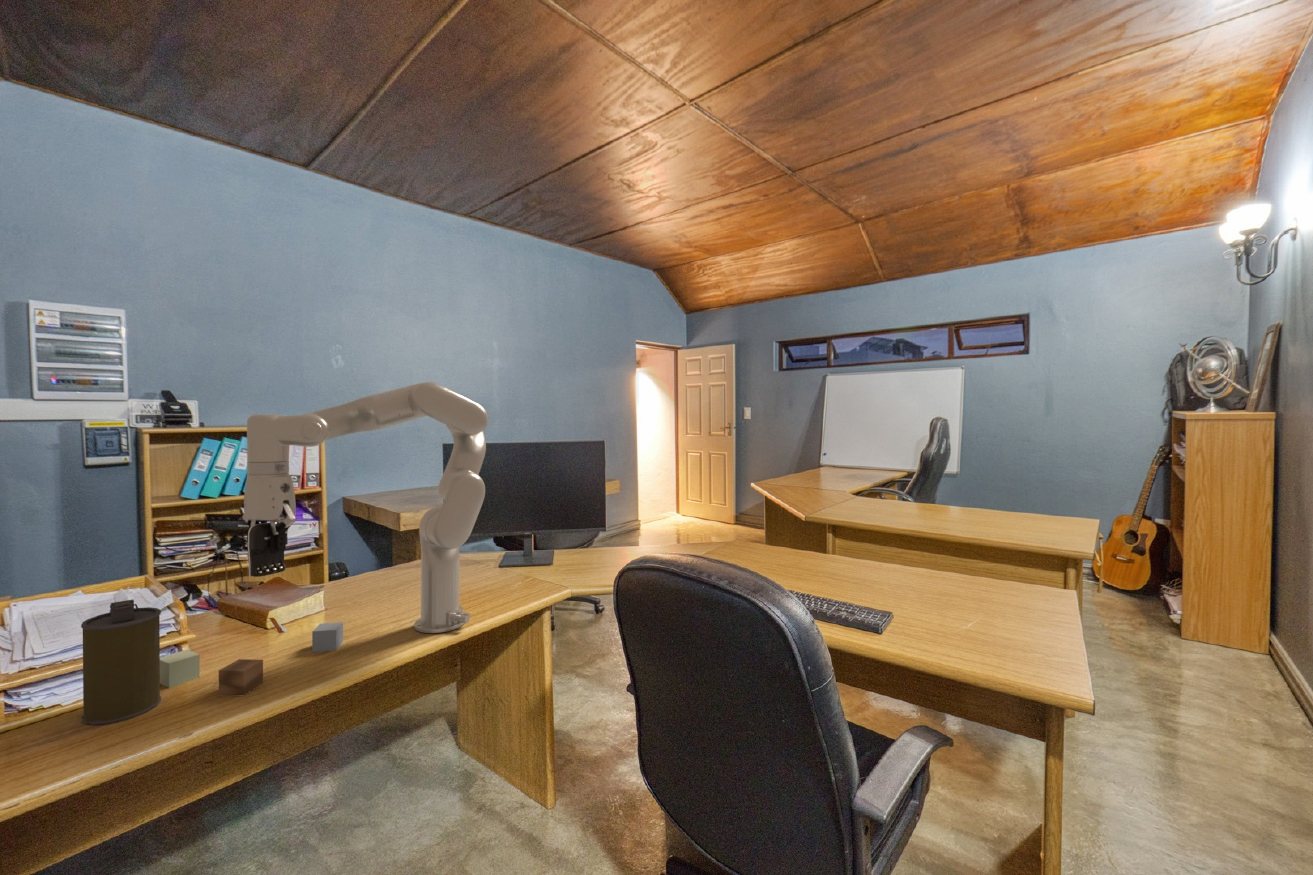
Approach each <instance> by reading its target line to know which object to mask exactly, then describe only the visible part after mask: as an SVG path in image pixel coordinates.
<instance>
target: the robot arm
mask: <svg viewBox="0 0 1313 875" xmlns="http://www.w3.org/2000/svg"><path fill="white" fill-rule="evenodd" d="M427 416H428V417H429V418H431V419H433V420H435V421H438V422H439V423H442V424H444V425H445V426H446V428H447V429H448V430H449V432H450V433H451V435H452V438H453V447H452V450H451V454H450V458H449V460H448V461H447V464H446V466H445V469H444V471H443V474H442V477H441V478H440V481H439V483H438V490H437V491H438V494H439V496H440V498H441V499H442V500H443V502H442V505H441V506H435V507H432V508H430V509H428V510H427V511H426V512H425V513H424V514H423V516H422V517H421V519H420V522H419V527H418V528H419V530H418V531H419V533H418V534H419V540H420V556H421V562H420V564H421V565H420V567H421V568H420V618H418V619H417V620H416V621H415V622H414V624H413V625H414V630H416V631H417V632H420V633H422V634H424V633H425V634H439V633H447V632H451V631H454V630H457V629H458V628H460V627H462V626H464V624H468V623H469V622H470V618H471V615H472V614H471V613H470V612H464V611H463V610H464V608H463V606H462V605H460V564H461V562H460V561H461V560H460V559H461V558H460V557H461V556H460V547H461V546H462V545H464V544H465V543H466V542H467V540H468V539H469V538H470V536H471V534H472V532H473V529H474V526H475V524H476V521H477V519H478V516H479V514H480V512H481V508H482V506H483V502H484V500H485V497H486V485H485V483H484V480H483V479H482V477H481V476H480V471H481V469H482V466H483V462H484V459H485V455H486V451H487V442H486V437H485V433H484V430H485V429H486V428H487V426H488V423H489V415H488V413H487V411H486V409H485V408H484V407H483V406H482V405H481V404H479V403H478V402H475V401H473V400H472V399H469V398H467V397H465V396H463V395H461V394H459V393H457V392H455V391H452V390H451V389H449V388H447V387H445V386H443V385H441V384H439V383H435V382H431V381H425V382H421V383H416V384H412V385H408V386H403V387H400V388H396V389H391V390H387V391H384V392H379V393H374V394H372V395H368V396H364V397H360V398H357V399H355V400H353V401H349V402H346V403H343V404H339V405H336V406H332V407H328V408H323V409H319V410H317V411H316V410H315V411H312V412H308V413H303V414H294V415H283V414H269V413H268V414H266V413H265V414H263V413H261V414H259V413H258V414H257V413H256V414H252V415H250V416H249V417H248V418H247V419H246V461H247V462H246V464H247V466H246V468H247V470H246V474H247V476H246V480H245V486H244V498H243V511H244V512H243V515H242V517H241V518H242V519H243V521H245V523H246V524H247V526H248V527H249V528H250V527H251V526H253V525H256V524H262V523H268V522H270V524H271V529H272V534H273V535H270V552H271V553H276V552H280V551H284V552H285V550H286V549H287V545H286V533H287V534H288V532H289V528H290V527H291V526H292V525H293V524H294V523H295V522H296V521H297V518H296V515H297V513H296V512H297V510H296V509H297V504H296V494H295V487H294V482H293V478H292V475H290V456H289V454H290V453H289V452H290V450H289V449H290V446H298V447H306V448H311V447H312V448H313V447H317V446H320V445H322V444H323V443H324V442H325V441H327V440H331V439H336V438H338V437H343V436H346V435H350V434H355V433H361V432H362V433H363V432H371V431H376V430H381V429H384V428H388V427H391V426H394V425H398V424H402V423H405V422H408V421H413V420H416V419H419V418H423V417H427ZM277 523H280V525H279V526H277Z"/></svg>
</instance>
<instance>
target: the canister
mask: <svg viewBox="0 0 1313 875" xmlns="http://www.w3.org/2000/svg"><path fill="white" fill-rule="evenodd" d="M109 608H110V609H109V612H106V613H102V614H99V615H96V616H93V617H90V618H88V619H86V620H83V622H82V623H81V624H80V627H81V629H82V696H83V699H82V701H83V702H82V704H83V706H82V707H83V708H82V709H83V715H82V716H81V721H82V722H83V723H84V724H86V725H92V726H95V725H96V726H97V725H108V724H113V723H118V722H122V721H126V720H129V719H132V718H135V717H138V716H141V715H143V714H144V713H147V712H148V711H151V710H153V709H154V708H155V707H157V706H158V705H159V704H160V703H161V701H162V696H161V692H160V691H161V684H160V658H161V657H160V655H161V654H160V653H161V652H160V651H161V650H160V649H161V648H160V646H161V644H160V641H161V640H160V636H161V635H160V634H161V633H160V631H161V630H160V628H161V627H160V626H161V625H160V623H161V622H160V615H162V614H161V613H162V611H161V609H159V608H157V607H150V606H149V607H146V606H145V607H138V604H137V603H135V600H134V599H133V598H132V599H128V600H127V599H126V600H123V601H122V600H121V601H115V602H110V605H109Z"/></svg>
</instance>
